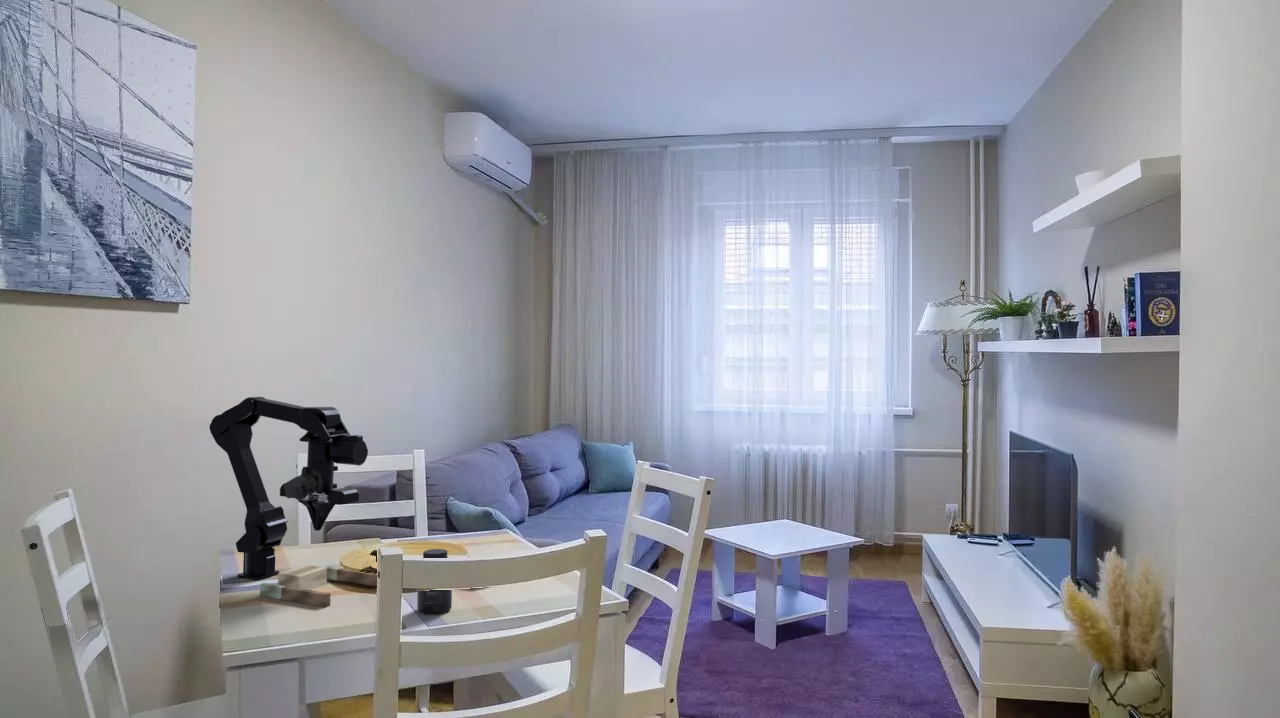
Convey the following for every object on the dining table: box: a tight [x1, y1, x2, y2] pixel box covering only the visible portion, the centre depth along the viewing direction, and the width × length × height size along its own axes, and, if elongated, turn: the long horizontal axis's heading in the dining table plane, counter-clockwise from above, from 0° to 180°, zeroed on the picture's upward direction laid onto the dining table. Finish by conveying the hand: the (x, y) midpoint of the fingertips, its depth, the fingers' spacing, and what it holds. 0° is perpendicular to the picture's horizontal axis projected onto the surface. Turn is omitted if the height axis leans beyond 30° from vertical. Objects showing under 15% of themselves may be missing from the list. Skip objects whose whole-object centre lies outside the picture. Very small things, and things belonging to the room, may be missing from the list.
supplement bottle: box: [416, 548, 453, 615], centre depth 156 cm, size 7×7×12 cm
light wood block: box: [277, 564, 328, 590], centre depth 170 cm, size 6×8×4 cm
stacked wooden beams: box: [259, 565, 377, 608], centre depth 168 cm, size 18×17×2 cm
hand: (317, 530), depth 175 cm, fingers closed
